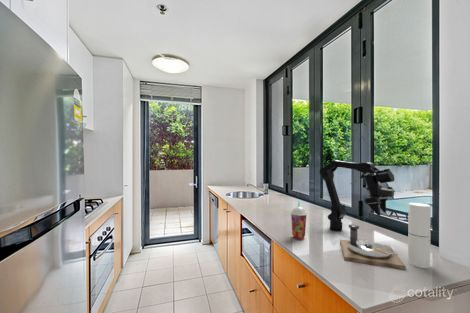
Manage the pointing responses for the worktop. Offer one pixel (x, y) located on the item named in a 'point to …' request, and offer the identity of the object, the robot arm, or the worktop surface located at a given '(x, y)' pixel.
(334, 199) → the robot arm
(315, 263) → the worktop surface
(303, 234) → the smoothie
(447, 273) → the worktop surface
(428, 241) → the cylindrical container
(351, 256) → the board
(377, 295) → the worktop surface
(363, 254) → the dial
